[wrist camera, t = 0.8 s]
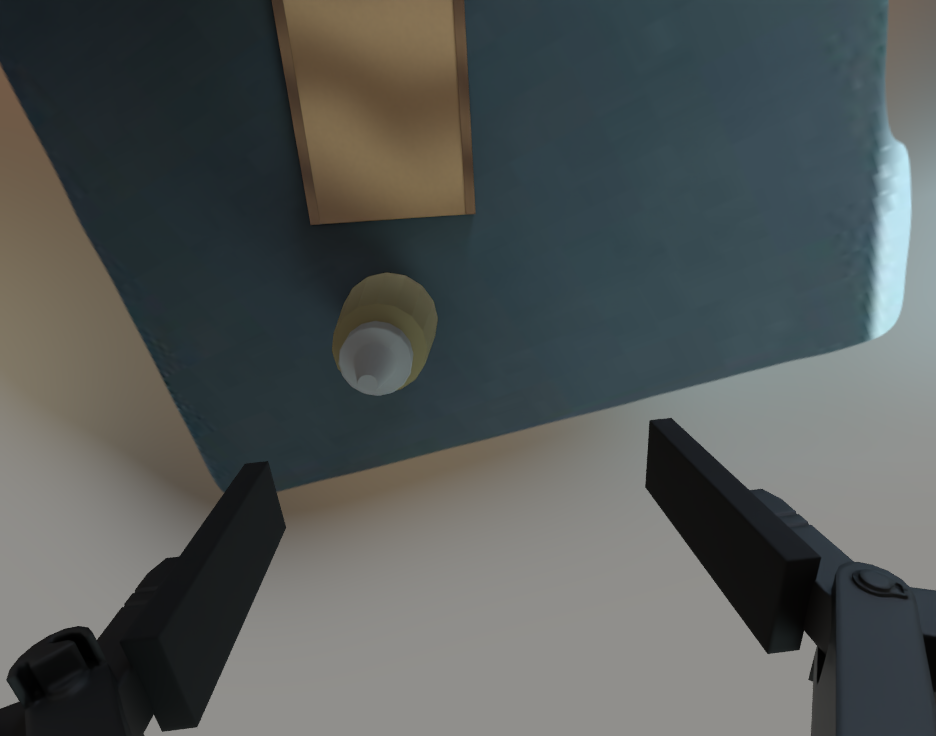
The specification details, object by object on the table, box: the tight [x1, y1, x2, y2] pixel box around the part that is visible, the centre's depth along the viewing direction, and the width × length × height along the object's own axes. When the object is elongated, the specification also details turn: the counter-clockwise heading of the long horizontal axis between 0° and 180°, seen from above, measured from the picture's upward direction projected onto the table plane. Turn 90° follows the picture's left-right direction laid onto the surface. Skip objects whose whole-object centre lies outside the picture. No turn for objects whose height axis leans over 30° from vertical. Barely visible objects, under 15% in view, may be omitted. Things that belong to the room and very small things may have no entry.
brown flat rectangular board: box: [272, 0, 475, 225], centre depth 36 cm, size 20×14×1 cm
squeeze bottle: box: [332, 272, 438, 396], centre depth 34 cm, size 8×8×18 cm
